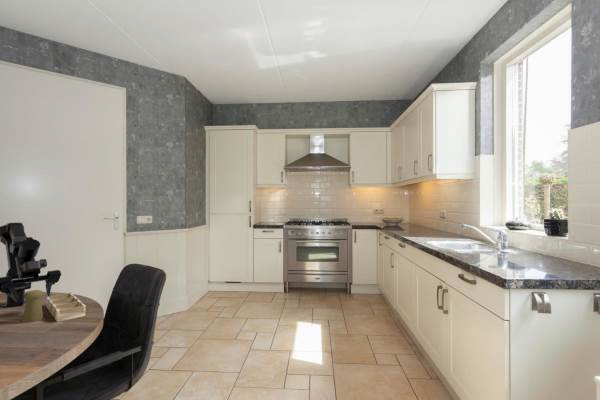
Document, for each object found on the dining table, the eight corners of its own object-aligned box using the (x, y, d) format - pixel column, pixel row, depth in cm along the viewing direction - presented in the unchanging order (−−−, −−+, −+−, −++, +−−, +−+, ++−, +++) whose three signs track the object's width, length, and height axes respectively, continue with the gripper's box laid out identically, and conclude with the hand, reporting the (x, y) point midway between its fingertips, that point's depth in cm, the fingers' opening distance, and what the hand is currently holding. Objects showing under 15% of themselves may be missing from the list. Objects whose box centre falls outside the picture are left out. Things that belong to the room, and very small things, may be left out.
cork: (47, 317, 115) (48, 288, 115) (31, 323, 109) (33, 293, 109) (33, 316, 115) (34, 288, 116) (17, 322, 109) (18, 292, 110)
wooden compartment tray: (45, 306, 127) (46, 296, 127) (70, 301, 133) (71, 292, 133) (57, 321, 110) (57, 311, 110) (85, 315, 117) (85, 305, 117)
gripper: (-3, 256, 108) (3, 291, 102) (60, 250, 123) (69, 280, 117) (-8, 274, 113) (-3, 309, 106) (53, 266, 128) (61, 297, 121)
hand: (33, 298), depth 112 cm, fingers open, 9 cm apart
